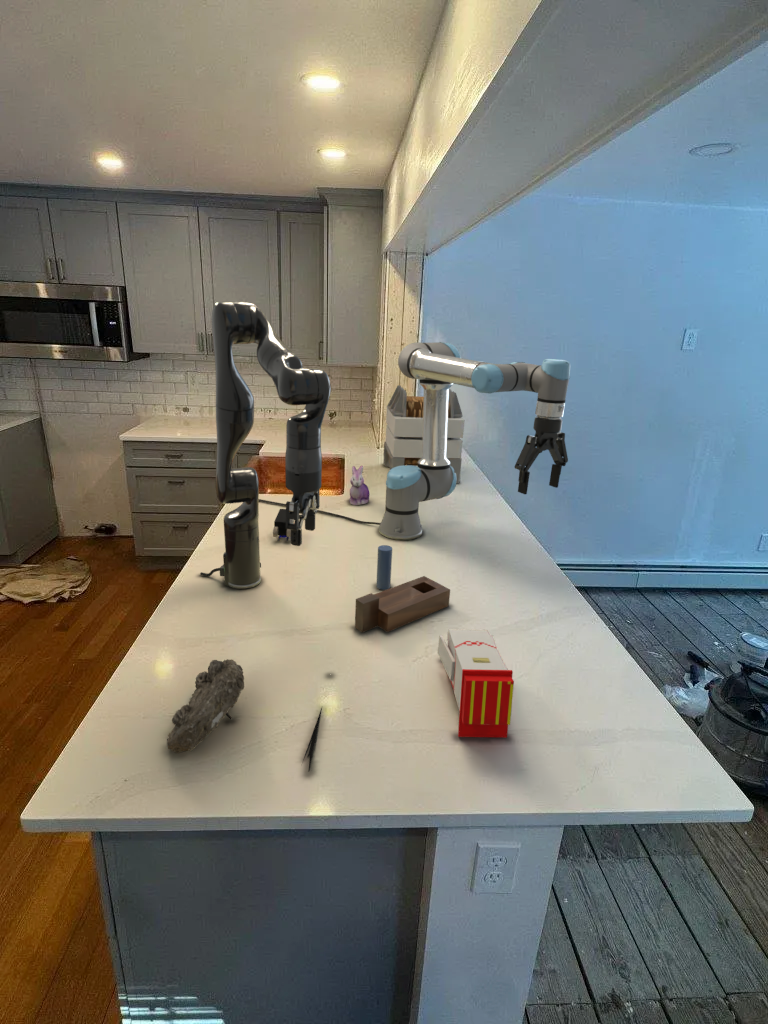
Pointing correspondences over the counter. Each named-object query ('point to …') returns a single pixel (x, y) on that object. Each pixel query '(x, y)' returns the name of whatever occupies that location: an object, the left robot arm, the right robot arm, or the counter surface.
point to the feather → (313, 740)
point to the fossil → (206, 705)
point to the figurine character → (281, 526)
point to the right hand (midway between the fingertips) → (538, 489)
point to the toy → (478, 682)
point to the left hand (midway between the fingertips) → (303, 537)
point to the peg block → (400, 604)
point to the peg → (384, 567)
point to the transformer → (418, 431)
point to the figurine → (358, 488)
